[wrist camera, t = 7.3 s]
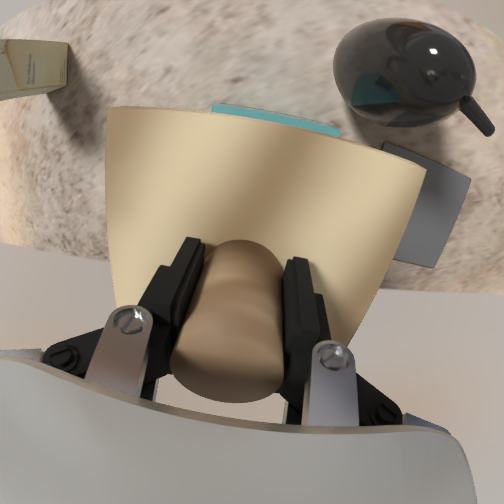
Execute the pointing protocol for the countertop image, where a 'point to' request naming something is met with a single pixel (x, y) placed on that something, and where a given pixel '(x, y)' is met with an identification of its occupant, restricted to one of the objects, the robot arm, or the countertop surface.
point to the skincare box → (31, 67)
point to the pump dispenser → (407, 75)
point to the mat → (430, 210)
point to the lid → (249, 231)
